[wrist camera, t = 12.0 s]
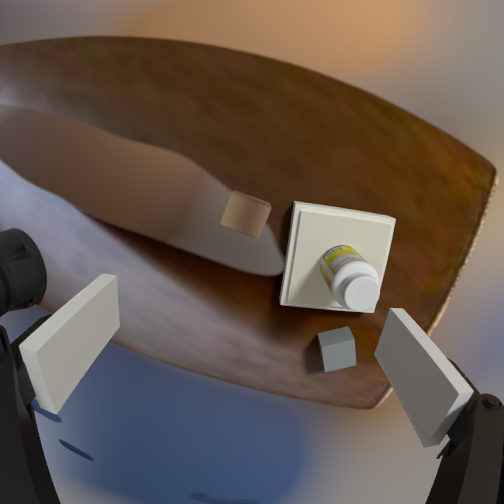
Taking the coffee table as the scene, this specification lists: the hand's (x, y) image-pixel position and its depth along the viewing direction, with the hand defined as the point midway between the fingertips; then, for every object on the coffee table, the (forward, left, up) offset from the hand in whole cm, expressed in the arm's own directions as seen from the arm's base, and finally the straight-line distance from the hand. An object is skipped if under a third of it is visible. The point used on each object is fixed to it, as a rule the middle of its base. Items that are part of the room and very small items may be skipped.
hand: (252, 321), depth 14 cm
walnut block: (-2, +1, -29) cm, 29 cm away
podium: (+11, -4, -28) cm, 31 cm away
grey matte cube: (+14, -18, -29) cm, 37 cm away
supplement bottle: (+11, -4, -26) cm, 28 cm away
